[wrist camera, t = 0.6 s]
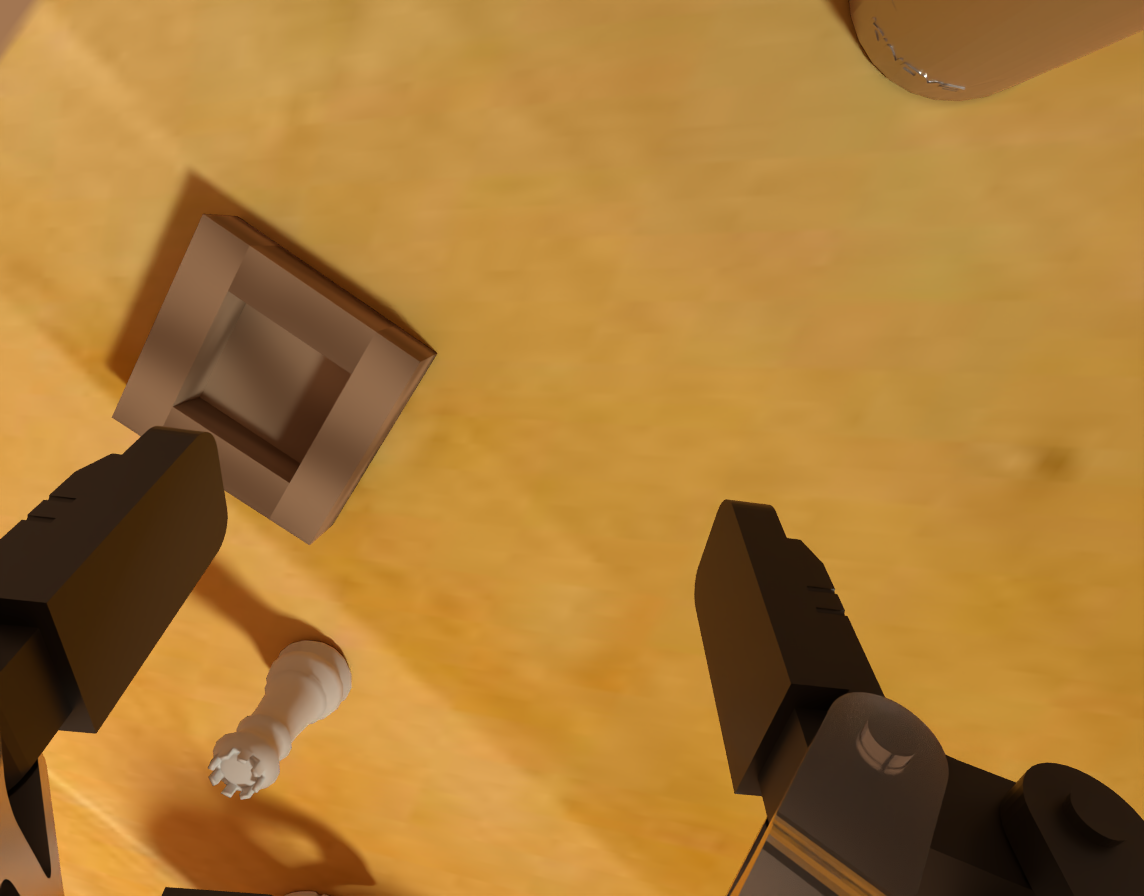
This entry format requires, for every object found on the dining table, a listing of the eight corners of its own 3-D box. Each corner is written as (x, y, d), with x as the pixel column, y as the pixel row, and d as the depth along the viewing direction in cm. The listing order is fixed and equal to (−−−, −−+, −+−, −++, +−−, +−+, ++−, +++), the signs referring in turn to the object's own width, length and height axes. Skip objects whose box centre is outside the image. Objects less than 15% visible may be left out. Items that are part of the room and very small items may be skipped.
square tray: (237, 216, 31) (203, 213, 28) (437, 353, 32) (420, 362, 29) (149, 405, 34) (112, 417, 32) (332, 524, 35) (309, 545, 32)
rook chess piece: (329, 717, 39) (250, 832, 31) (265, 671, 38) (170, 777, 30) (370, 668, 37) (299, 776, 30) (305, 620, 37) (216, 718, 29)
